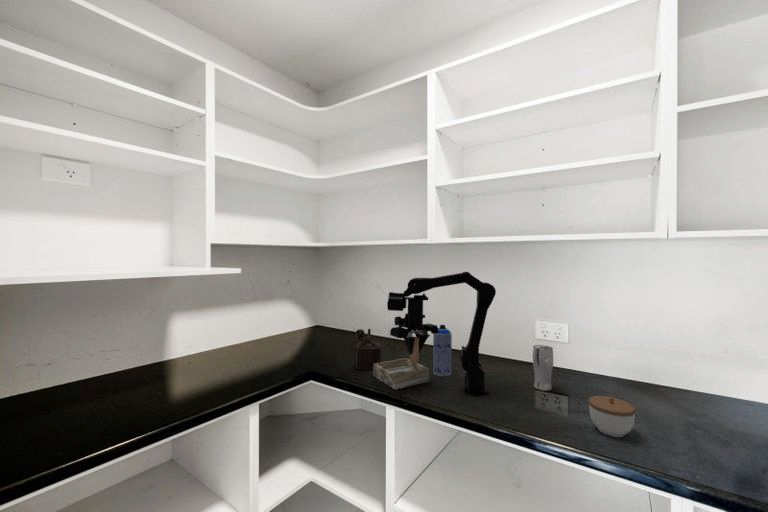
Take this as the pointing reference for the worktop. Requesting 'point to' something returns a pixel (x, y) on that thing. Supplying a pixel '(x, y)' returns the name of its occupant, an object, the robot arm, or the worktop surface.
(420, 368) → the tray
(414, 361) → the peg
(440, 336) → the aerosol can
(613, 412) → the lidded jar
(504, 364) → the worktop surface
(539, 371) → the beer glass
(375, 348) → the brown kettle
